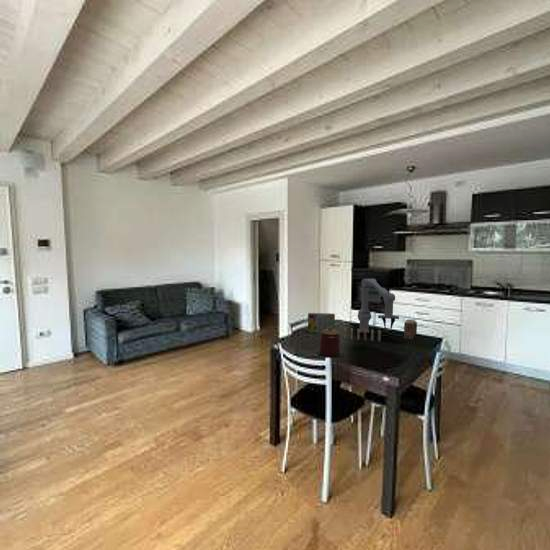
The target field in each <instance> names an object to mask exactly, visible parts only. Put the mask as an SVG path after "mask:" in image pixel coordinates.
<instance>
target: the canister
mask: <svg viewBox="0 0 550 550" xmlns="http://www.w3.org/2000/svg"><path fill="white" fill-rule="evenodd" d="M321 332H322V333H320V334H319V336H320V339H319V353H320V354H321V355H323V356H326V357H336V356H339V355H340V353H341V348H340V347H341V345H340V344H341V339H340V338H341V335H340V331H339V330H338V329H336V328H335V329H332V327H329V328H328V329H324V330H322V331H321Z"/></svg>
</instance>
